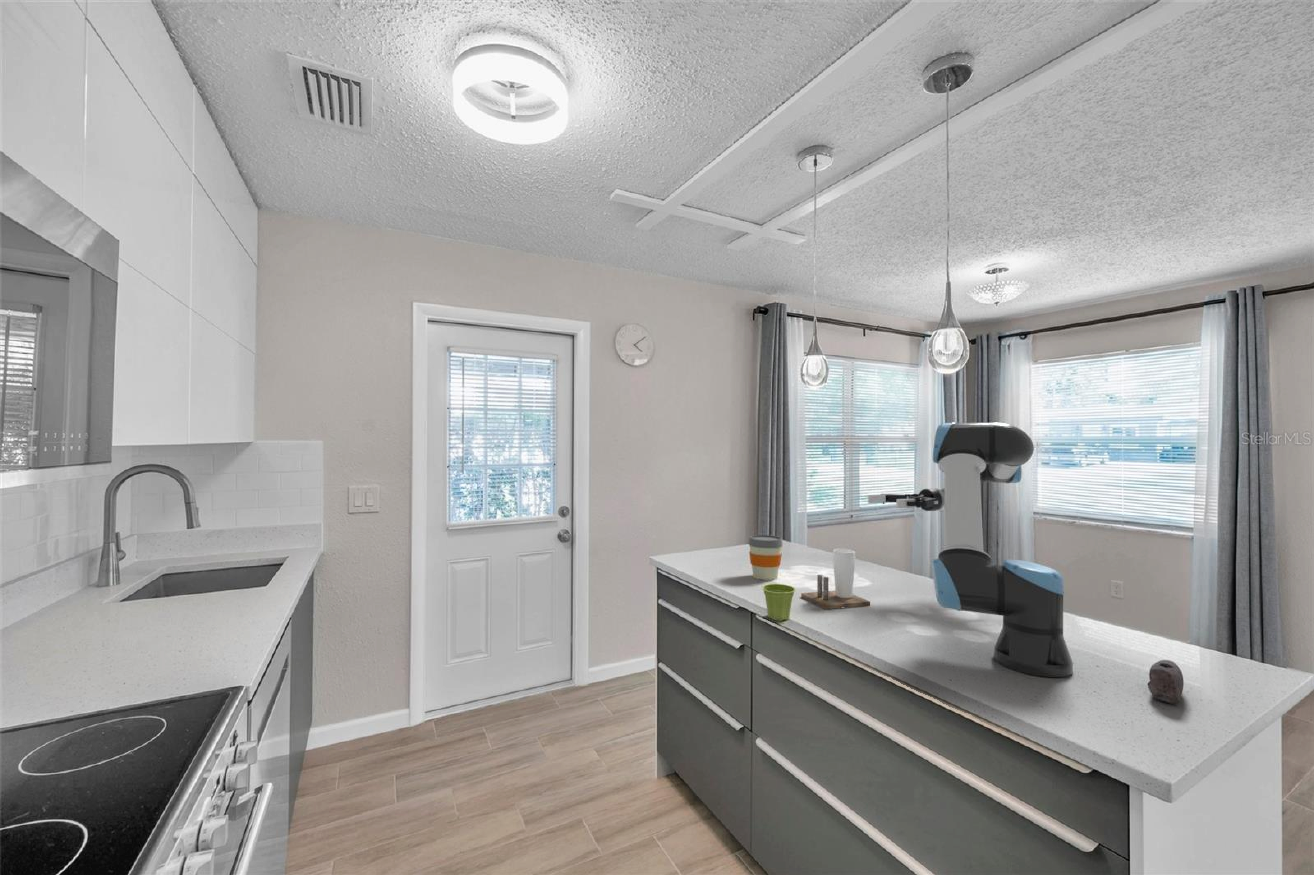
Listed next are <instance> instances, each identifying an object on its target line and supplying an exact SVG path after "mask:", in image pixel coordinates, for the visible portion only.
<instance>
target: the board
mask: <svg viewBox="0 0 1314 875" xmlns="http://www.w3.org/2000/svg"><path fill="white" fill-rule="evenodd" d="M816 576H817V579H816V580H817V585H816V586H817V588H816V589H817V591H813V592H801V594H800V595H801V598H803V599H804V598H805V600H806V601H809V602H811V603H812V602H813V604H814V603H815V604H814V605H816V606H818V607H820V608H822V607H823V608H822V609H824V608H825V609H824V610H826V609H827V610H834V609H833V608H837V609H843V608H842V607H848V608H858V607H866V606H871V601H870V600H867V599H865V598H863V597H860V596H859V595H855V594H854V593H853V596H852V598H849V599H844V598H839V597H837V596H836V595H835V589H834V590H829V577H827V576H823V575H822V574H817V575H816Z"/></svg>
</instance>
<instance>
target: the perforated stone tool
mask: <svg viewBox="0 0 1314 875" xmlns="http://www.w3.org/2000/svg"><path fill="white" fill-rule="evenodd" d="M1148 676H1149V681H1148V683H1147V688H1148V690H1149V692H1150V693H1151V695H1152V697H1153V698H1154V699H1156V700H1158V701H1159V702H1160V701H1161V702H1166V703H1169V704H1170V705H1171V704H1176V703H1177V702H1178V701H1179V700H1180V699H1181V696H1182V695H1183V691H1184V676H1183V673H1182V669H1180V667H1179V666H1178V664H1176V663H1175V662H1174V661H1172V660H1168V659H1162V660H1159V661H1157V662H1155V663H1153V664H1152V665H1151V667H1150V669H1149V673H1148Z"/></svg>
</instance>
